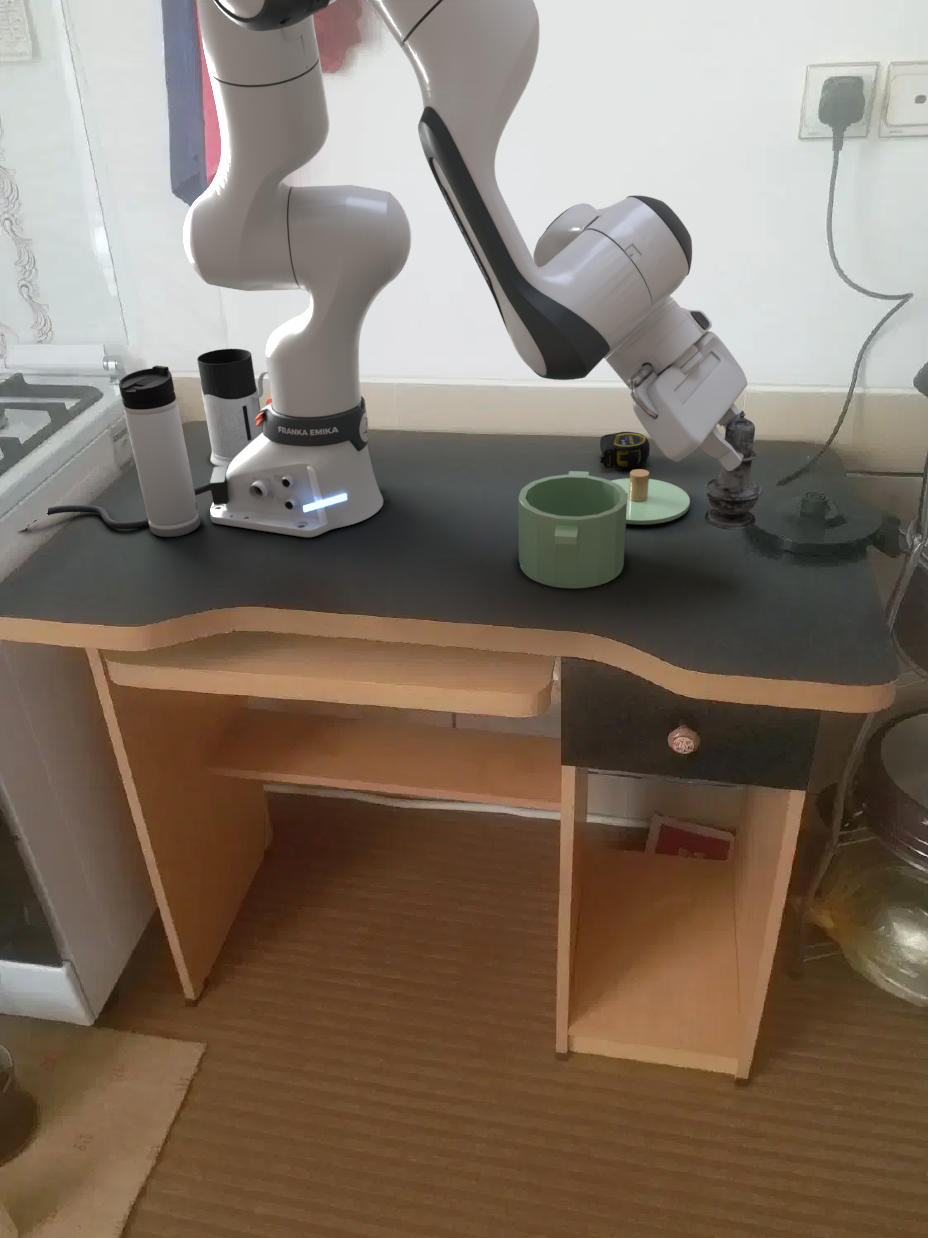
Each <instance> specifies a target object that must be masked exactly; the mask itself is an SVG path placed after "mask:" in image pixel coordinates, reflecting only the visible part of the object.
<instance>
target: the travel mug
mask: <svg viewBox="0 0 928 1238" xmlns="http://www.w3.org/2000/svg"><path fill="white" fill-rule="evenodd" d="M118 388H119V393H120V397H121V402H122V408H123V412H124V418H125V422H126V426H127V430H128V435H129V441H130V444H131V449H132V453H133V459H134V462H135V463H134V464H135V467H136V472H137V476H138V481H139V485H140V490H141V495H142V498H143V503H144V507H145V512H146V518H147V519H149V526H148V527H149V530H150V532H151V533H152V534H153V535H155V536H157V537H162V538H175V537H182V536H185V535H187V534H190V533H193V532H194V531H196V530H197V529H198V527H200V525H201V518H200V513H199V508H198V503H197V498H196V496H195V492H194V488H195V487H194V482H193V476H192V472H191V465H190V461H189V457H188V456H189V455H188V450H187V446H186V445H187V444H186V441H185V440H186V439H185V436H184V430H183V423H182V420H181V414H180V408H179V404H178V399H177V396H176V392H175V385H174V381H173V375H172V373H171V371H170V369H169V367H168V366H164V365H154V366H152V367H151V368H144V369H140V370H137V371H133V372H131V373H128V374H127V375H125V376H123V377H122V378H121V379H120V380H119V381H118Z"/></svg>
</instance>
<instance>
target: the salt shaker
mask: <svg viewBox="0 0 928 1238" xmlns="http://www.w3.org/2000/svg"><path fill="white" fill-rule="evenodd" d="M739 416H740V417H739V418H737V419H734V420H731V421H730V422H729V423H728V424H727V426H726V430H725V431H724V432H725V433H724V440H725V441H727V442H728V443H729V444H730V445H731V446H734V445H736V446H737V448H738V449H739V451H740V452H741V453H742V454H743V455H744V459H743V460H742V462H741V464H740V465H739V466H738V467H736V468H735V469H733V470H732V471H728V470H726V469H725V468H724V467H723V465H722V464H721V463H720V469H719V470H720V471H719V474H718V476H717V477H714V478H711V479H710V480H708V481H707V482H706V483H705V485H704V491H705V492H706V497H707V499H708V500H707V501H708V503H709V505H710V506H711V507H712V508H711V509H709V510H707V511H706V512H705V514H704V520H705V521H706V523H707V524H708V525H710V526H713V527H715V528H717V529H722V530H730V531H739V530H740V531H741V530H744V529H748V528H750V527H752V526H754V524H755V523H756V516H755V515H754V514H753V513H751V512H750V511H751V510H752V509H753V508H754V507H755V506H756V504H757V502H758V500H759V497H761V495H762V494H763V487H762V485H760V484H759V483H758V482H756V481H754V480H752V476H751V475H752V474H751V470H752V465H753V464H752V462H753V460H754V459H755V458H756V452H754V444H753V442H754V438H755V435H756V434H755V433H756V425H755V424H754V423H753V422H752V421H751V420H749V419H747V418H746V413H745V412H744V410H741V411H740V414H739Z"/></svg>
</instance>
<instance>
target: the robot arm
mask: <svg viewBox="0 0 928 1238" xmlns="http://www.w3.org/2000/svg"><path fill="white" fill-rule="evenodd" d="M196 1H197V13H198V19H199V20H198V21H199V28H200V34H201V39H202V45H203V51H204V56H205V60H206V65H207V70H208V74H209V79H210V83H211V86H212V91H213V97H214V101H215V106H216V111H217V117H218V123H219V131H220V139H221V154H220V161H219V164H218V169H217V172H216V174H215V176H214V178H213V180H212V181H211V183H210V185H209V187H207V189H206V190H205V191H204V192H203V193H202V194H201V195H200V196H199V197H197V198H196V200H195V201H194V202H193V203H192V205H191V207H190V208H189V210H188V212H187V215H186V217H185V221H184V225H183V244H184V245H183V246H184V251H185V253H186V256H187V259H188V261H189V263H190V265H191V267H192V268H193V270H194V271H195V272H196V274H197V275H198V276H199V277H200V279H202V281H204V282H205V283H206V284H207V285H211V286H216V287H221V288H227V289H232V290H239V291H245V292H259V291H262V292H263V291H291V290H292V291H293V290H301V291H306V292H307V293H308V295H309V307H308V308H307V309H306V310H304V311H303V312H301V313H299V314H297V315H296V316H294V317H292V318H291V319H289V320H287V321H285V322H284V323H282V324H281V325H280V326H278V327H277V328H276V329H275V330H274V331H273V332H272V333H271V334H270V335H269V337H268V339H267V343H266V346H265V353H264V354H265V355H264V356H265V363H266V370H268V373H267V375H268V376H267V377H268V383H269V390H270V391H269V392H270V397H269V398H267V399H266V401H265V406H263V407H262V408H260V409H261V410H260V414H259V415H258V416H257V417H256V418H255V420H258V421H257V424H256V426H257V427H259V426H260V425H262V429H263V432H262V433H261V434H260V435H259V436H258V437H257V438H255V439H254V440H253V441H252V442H251V443H250V444H249V445H247V446H246V447H245V448H244V449H243V450H242V451H241V452H240V453H239V454H238V455H237V456H236V457H235V458H234V459H233V460H232V462H231V463H230V465H229V467H228V466H213V470H212V474H211V478H210V481H209V482H208V483H205V484H202V485H199V486H197V487H194V492H195V497H196V496H198V495H200V494H201V495H202V494H204V493H207V492H209V491H210V492H211V497H212V503H211V506H210V520H211V522H212V523H214V524H217V525H224V526H231V527H237V528H244V529H249V530H256V531H262V532H267V533H268V532H269V533H275V534H282V535H288V536H295V537H300V538H313V537H317V536H320V535H322V534H325V533H327V532H329V531H331V530H335V529H338V528H344V527H347V526H351V525H355V524H357V523H360V522H363V521H365V520H367V519H369V518H372V516H374V515H375V514H377V513H378V512H379V511H380V510H381V509H382V507H383V505H384V497H383V495H382V493H381V490H380V488H379V485H378V482H377V479H376V475H375V473H374V469H373V466H372V465H373V464H372V461H371V456H370V452H369V445H368V443H369V438H370V437H369V436H370V428H369V427H370V426H369V418H368V412H367V408H366V400H365V397H364V396H362V390H361V377H360V339H361V332H362V328H363V324H364V322H365V319H366V316H367V314H368V312H369V310H370V308H371V306H372V304H373V303H374V301H375V300H376V298H377V297H378V296H379V294H380V293H381V292H382V291H383V290H384V289H385V288H386V287H387V286H388V285H389V284H390V283H392V282H393V281H394V280H395V279H396V278H397V277H398V276H399V275H400V273H401V271H402V270H403V269H404V268H405V266H406V263H407V262H408V259H409V256H410V253H411V252H410V251H411V247H412V230H411V225H410V221H409V218H408V215H407V213H406V211H405V209H404V207H403V206H402V204H401V203H400V201H399V200H398V199H397V198H396V197H395V195H394V194H392V193H391V192H390V191H387V190H382V189H378V188H377V189H376V188H371V187H366V186H359V185H353V184H340V185H339V184H338V185H337V184H336V185H311V186H294V185H288V184H286V183H285V181H284V179H286V178H287V177H288V176H289V175H291V174H292V173H294V172H296V171H298V170H299V169H301V168H303V167H304V166H306V165H307V164H308V163H310V162H311V161H312V160H313V159H314V158H315V157H317V155H318V154H319V153H320V152H321V150H322V149H323V147H324V146H325V145H326V142H327V139H328V136H329V131H330V117H329V110H328V104H327V103H328V102H327V97H326V90H325V83H324V77H323V76H324V75H323V71H322V64H321V57H320V51H319V45H318V40H317V33H316V28H315V22H314V21H315V19H314V14H317V13H319V12H321V11H322V10H324V9H326V8H327V7H328V6H329V5H331V4H333V3H335V2H336V1H337V0H196ZM365 2H367V3H368V4H369V5H370V6H371V7H372V8H373V10H374V11H375V12H376V13H377V14H378V16H379V18H380V19H381V20H382V22H383V23H384V24H385V26H386V27H387V29H388V30H389V32H390V33H391V35H392V37H393V39H394V40H395V41H396V42H397V44H398V46H399V47H400V48H401V50H402V52H403V53H404V54H405V56H406V57H407V59H408V61H409V62H410V65H411V66H412V69H413V71H414V73H415V76H416V79H417V82H418V85H419V89H420V92H421V98H422V106H423V110H422V113H421V117H420V118H419V122H418V124H417V131H418V137H419V140H420V144H421V147H422V151H423V153H424V157H425V159H426V161H427V165H428V167H429V169H430V171H431V173H432V175H433V178H434V180H435V183H436V184H437V187H438V188H439V190H440V193H441V195H442V197H443V199H444V201H445V203H446V205H447V207H448V209H449V211H450V213H451V215H452V217H453V219H454V221H455V223H456V225H457V227H458V229H459V231H460V233H461V235H462V237H463V239H464V241H465V243H466V245H467V247H468V249H469V251H470V253H471V255H472V257H473V259H474V261H475V262H476V265H477V267H478V268H479V271H480V273H481V275H482V276H483V278H484V280H485V283H486V285H487V287H488V289H489V291H490V293H491V295H492V297H493V300H494V301H495V304H496V307H497V309H498V311H499V314H500V317H501V319H502V322H503V324H504V327H505V330H506V332H507V334H508V335H509V336H508V337H509V338H510V340H511V341H510V342H511V343H512V345H513V347H514V349H515V351H516V352H517V354H518V356H519V357H520V358H521V360H522V361H523V363H525V364H526V366H527V367H529V368H530V369H531V370H532V372H534V373H535V374H536V375H537V376H538V377H540V378H543V379H547V380H555V381H572V380H579V379H584V378H586V377H587V376H588V375H589V374H590V373H591V372H592V371H593V370H594V369H595V368H596V367H597V365H599V364H600V363H601V361H602V360H603V359H604V360H605V361H606V362H607V364H608V365H609V366H610V367H611V369H613V371H614V372H615V373H616V374H617V376H618V377H619V378H620V379H621V381H622V382H623V383H624V384H625V385H626V386H627V388H628V389H629V391H630V397H631V399H632V409H633V411H634V414H635V415H636V417H637V419H638V421H639V422H640V424H641V425H642V426H643V428H644V429H645V431H646V432H647V434H648V435H649V436H650V438H651V439H652V441H653V442H654V444H655V445H656V446H657V448H658V449H659V450H660V451H661V453H662V454H663V455H664V456H665V457H666V458H668V459H669V460H671V461H673V462H675V463H679V462H681V461H682V460H684V459H686V457H688V456H689V455H691V454H692V453H693V452H694V451H696V450H697V449H698V448H700V450H701V451H702V452H704V453H705V454H707V455H709V456H710V457H712V458H713V459H715V460H717V461H718V462H719V463H720V465H721V464H722V465H723V467H724V468H725V469H726V470H728V471H732V470H733V469H735V468H736V467H738V466H739V465H740V464H741V462H742V460H743V459H744V455H743V454H742V453H741V452H740V451H739V449H738V448H737V446H736V445H734V446H731V445H730V444H729V443H728V442H727V441H725V438H723V437H722V436H723V433H722V432H721V431H720V430H719V428H718V427H717V425H719V426H720V427H723V428H724V430H725V431H726V426H727V424H728V423H729V422H730V421H731V420H734V419H737V418H739V417H740V416H739V414H740V412H741V411H740V409H739V408H738V407H737V405H735V402H736V401H737V400H738V398H739V397H740V395H741V394H742V393H743V391H745V389H746V388H747V386H748V385H749V384H748V379H747V377H746V374H745V372H744V369H743V368H742V366H741V365H740V364H739V362H738V361H737V359H736V358H735V356H734V355H733V354H732V353H731V351H730V349H728V347H727V346H726V344H725V343H724V342H723V341H722V340H721V338H720V337H719V336H718V334H716V333H715V332H713V331H711V330H710V329H711V328H712V326H713V323H712V320H711V319H710V318H709V317H708V316H707V314H706V313H705V312H704V311H703V310H700V309H688V308H685V307H681V306H680V305H679V304H678V302H677V301H676V300H675V299H674V297H672V296H671V295H672V294H674V292H676V290H678V288H679V287H680V286H681V285H682V283H683V282H684V281H685V279H686V278H687V276H689V275H690V271H691V267H692V260H693V242H692V241H693V240H692V237H691V234H690V232H689V230H688V229H687V227H686V225H685V224H684V223H683V221H682V220H681V218H680V217H679V216H678V214H676V212H675V211H674V210H673V209H672V208H671V207H670V206H669V205H668V204H666V203H665V202H664V201H662V200H661V199H657V198H654V197H651V196H647V195H646V196H645V195H628V196H627V197H625V198H624V199H622V200H620V201H618V202H616V203H613V204H611V205H608V206H606V207H603V208H596V207H594V206H593V205H591V204H589V203H587V202H585V203H583V202H582V203H578V204H575V205H572V206H571V207H569V208H567V209H566V210H564V211H563V212H561V213H560V214H558V216H557V217H556V218H555V219H554V220H553V221H552V222H551V223H550V224H549V225H548V226H547V227H546V228H545V231H544V232H543V233H542V235H541V236H540V237H539V238H538V240H537V242H536V244H535V247H534V250H533V255H532V254H531V252H530V250H529V248H528V246H527V244H526V242H525V240H524V237H523V236H522V234H521V232H520V229H519V226H518V225H517V223H516V221H515V220H514V217H513V215H512V213H511V211H510V209H509V206H508V205H507V202H506V200H505V198H504V197H503V195H502V192H501V189H500V188H499V185H498V181H497V177H496V176H497V175H496V157H497V151H498V147H499V143H500V140H501V138H502V136H503V133H504V131H505V129H506V127H507V124H508V123H509V120H510V118H511V117H512V115H513V113H514V111H515V110H516V108H517V106H518V104H519V102H520V100H521V98H522V96H523V95H524V92H525V90H526V89H527V87H528V84H529V82H530V80H531V77H532V75H533V72H534V69H535V65H536V62H537V59H538V53H539V46H540V35H541V31H540V30H541V29H540V19H539V13H538V9H537V6H536V4H535V2H534V0H365ZM755 442H756V438H755V437H754V442H753V445H754V444H755ZM47 508H48V513H47V514H48V516H51V515H55V514H65V513H93V514H98V515H100V517H101V518H102V520H103V522H104V523H105V524H106V525H107V526H108V527H110V528H112V529H116V530H134V529H142V528H145V527H146V528H147V527H150V526H149V519H148V518H145V519H141V520H134V521H117V520H114V519H113V518H111V516H110V514H109V513H108V511H107V510H106V509H105V508H104V507H101V506H98V505H93V504H92V505H91V504H90V505H89V504H67V505H56V506H51V507H47ZM37 521H38V520H35V521H34V522H33V523H32V524H34V523H35V522H37ZM26 530H28V528H26V529H25V530H24V531H23V532H25V531H26Z"/></svg>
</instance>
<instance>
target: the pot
mask: <svg viewBox="0 0 928 1238" xmlns="http://www.w3.org/2000/svg"><path fill="white" fill-rule="evenodd" d="M517 498H518V501H517V502H518V504H517V506H518V509H517V510H518V511H517V512H518V514H517V515H518V516H517V517H518V521H517V522H518V562H519V567H520V570H521V571H522V573H523V574H524V576H526V577H528V578H529V579H531V580H532V581H535V582H536V583H539V584H542V585H544V586H548V587H553V588H560V589H586V588H593V587H597V586H601V585H603V584H606V583H609V582H611V581H612V580H615V579H616V578H617V577H618V576H619V575H620V574H621V573H622V571H623V569H624V565H625V552H626V551H625V550H626V536H627V535H626V533H627V523H626V517H627V499H628V494H627V493H626V491H625V490H624V489H623V488H622V487H621V486H620V485H618V484H616V483H614V482H612V480H609V479H607V478H604V477H603V478H602V477H598V476H593V475H590V471H582V470H581V471H579V470H569V471H568V474H560V475H559V474H558V475H551V476H546V477H542V478H539V479H536V480H533V481H531V482H530V483H528V484H526V485H525V486H524V487H523V488H521V489H520V492H519V495H518V497H517Z"/></svg>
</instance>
